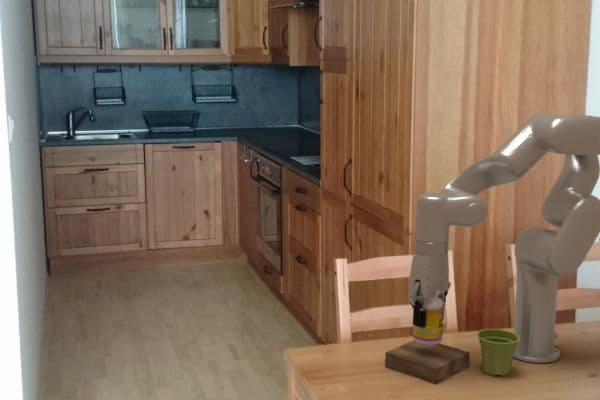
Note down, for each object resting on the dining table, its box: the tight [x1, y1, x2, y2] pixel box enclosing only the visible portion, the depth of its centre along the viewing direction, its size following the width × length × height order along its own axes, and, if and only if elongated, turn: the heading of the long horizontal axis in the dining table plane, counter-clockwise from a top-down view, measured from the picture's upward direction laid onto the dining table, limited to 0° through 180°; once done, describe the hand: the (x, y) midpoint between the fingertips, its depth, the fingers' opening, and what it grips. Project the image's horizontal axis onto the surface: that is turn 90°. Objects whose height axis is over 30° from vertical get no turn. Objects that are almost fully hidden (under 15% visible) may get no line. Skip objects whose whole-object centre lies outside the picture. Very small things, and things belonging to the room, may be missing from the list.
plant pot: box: [476, 328, 520, 377], centre depth 174 cm, size 9×9×9 cm
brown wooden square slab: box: [384, 339, 471, 385], centre depth 177 cm, size 14×14×4 cm
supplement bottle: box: [412, 290, 445, 345], centre depth 175 cm, size 7×7×13 cm
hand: (428, 321), depth 175 cm, fingers closed on supplement bottle, 6 cm apart
